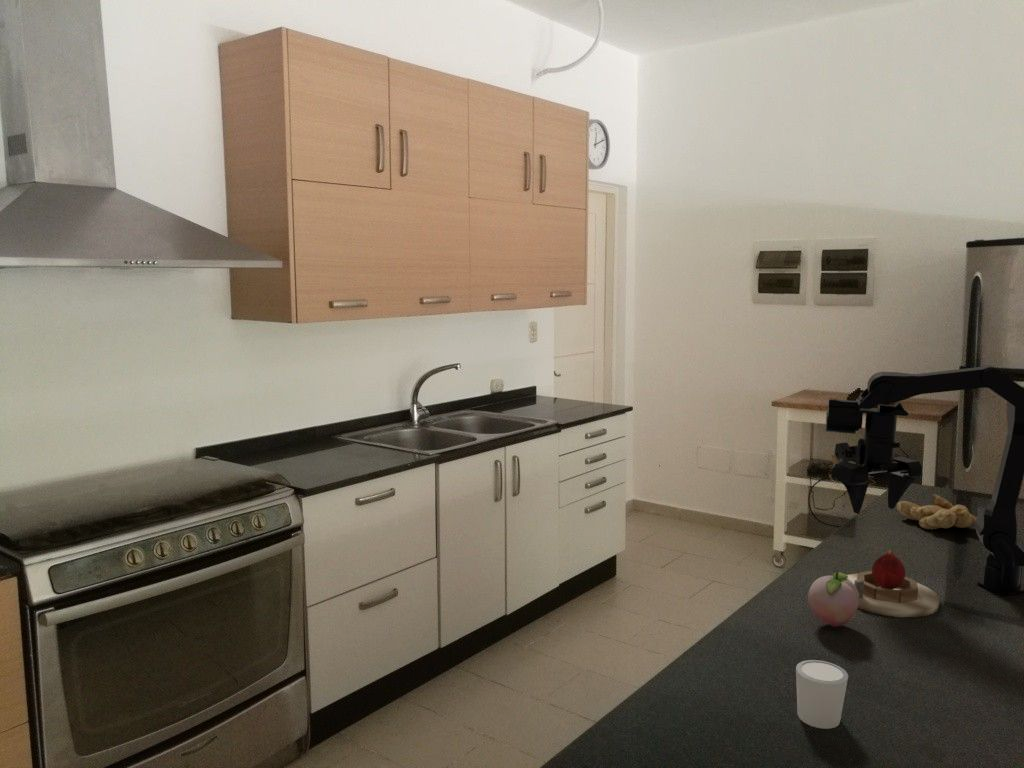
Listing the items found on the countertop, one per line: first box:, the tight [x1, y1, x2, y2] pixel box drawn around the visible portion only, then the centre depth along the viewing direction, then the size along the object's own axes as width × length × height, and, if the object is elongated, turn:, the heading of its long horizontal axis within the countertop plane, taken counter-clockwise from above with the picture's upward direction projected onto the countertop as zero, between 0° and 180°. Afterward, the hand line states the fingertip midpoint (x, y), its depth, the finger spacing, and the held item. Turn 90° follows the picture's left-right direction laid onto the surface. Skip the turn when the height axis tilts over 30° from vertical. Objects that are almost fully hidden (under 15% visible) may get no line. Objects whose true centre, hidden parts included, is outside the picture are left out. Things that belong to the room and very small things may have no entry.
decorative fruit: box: [807, 571, 859, 628], centre depth 145 cm, size 9×8×10 cm
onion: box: [871, 549, 906, 589], centre depth 157 cm, size 6×6×8 cm
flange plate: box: [846, 570, 940, 618], centre depth 158 cm, size 18×18×4 cm
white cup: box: [795, 659, 849, 730], centre depth 116 cm, size 7×7×7 cm
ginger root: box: [895, 493, 977, 531], centre depth 200 cm, size 16×16×8 cm
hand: (873, 510), depth 169 cm, fingers open, 9 cm apart
